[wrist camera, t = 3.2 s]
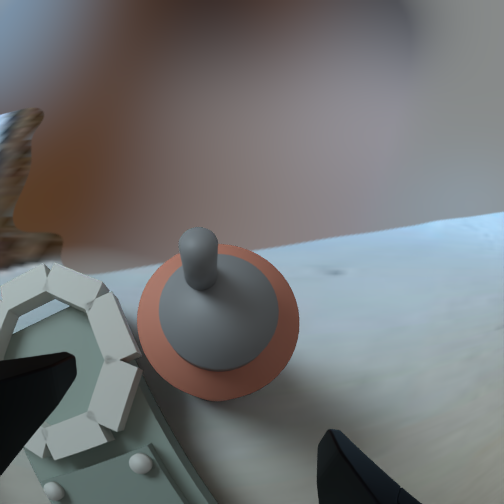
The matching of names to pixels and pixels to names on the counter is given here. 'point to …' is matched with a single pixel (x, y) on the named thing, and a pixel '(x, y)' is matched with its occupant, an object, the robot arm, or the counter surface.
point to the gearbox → (95, 399)
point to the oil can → (217, 319)
